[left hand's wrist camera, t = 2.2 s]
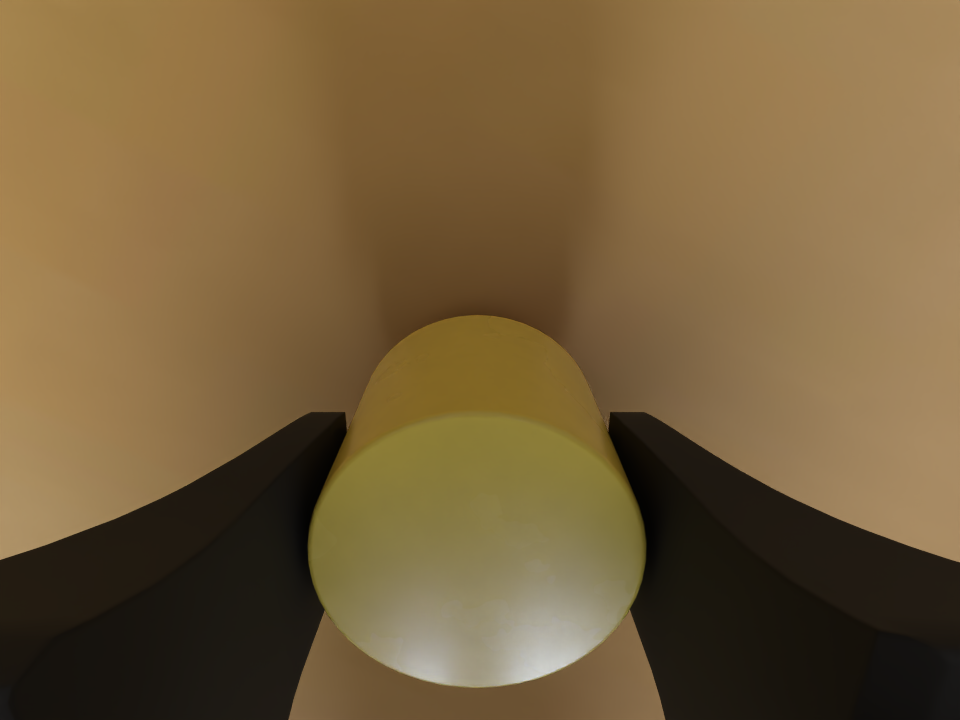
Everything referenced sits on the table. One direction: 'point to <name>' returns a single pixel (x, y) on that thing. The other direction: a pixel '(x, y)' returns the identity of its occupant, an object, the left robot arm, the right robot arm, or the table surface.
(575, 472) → the tin
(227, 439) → the table surface
